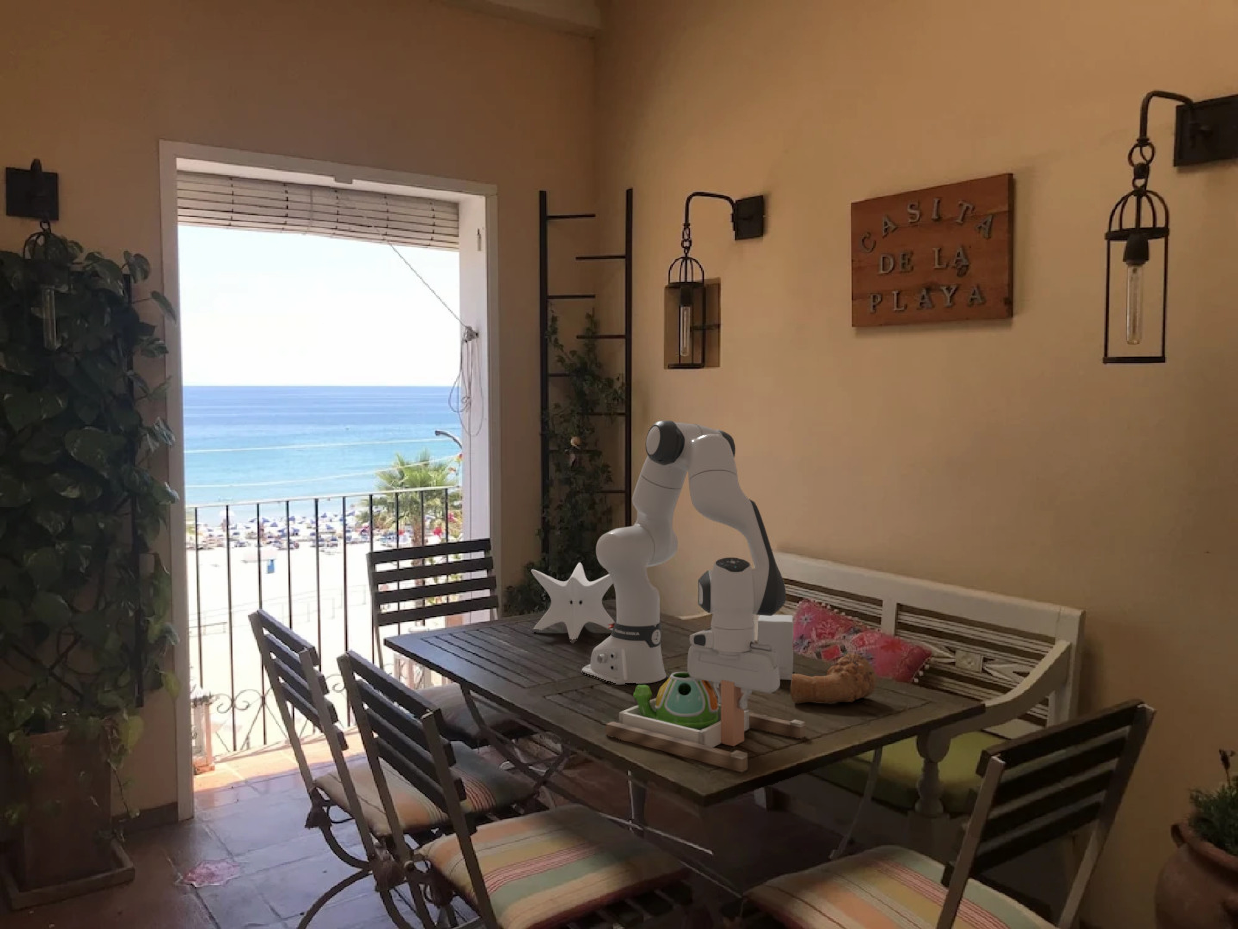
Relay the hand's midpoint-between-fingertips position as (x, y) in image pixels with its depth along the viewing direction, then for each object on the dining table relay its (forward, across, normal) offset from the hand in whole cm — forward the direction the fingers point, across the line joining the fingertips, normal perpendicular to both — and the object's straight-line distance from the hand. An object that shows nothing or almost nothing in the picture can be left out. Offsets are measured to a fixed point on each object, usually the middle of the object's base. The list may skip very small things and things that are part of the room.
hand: (732, 706), depth 190 cm
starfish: (+8, +90, -54) cm, 105 cm away
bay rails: (+8, +7, 0) cm, 10 cm away
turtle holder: (+8, +13, 0) cm, 15 cm away
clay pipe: (+8, -4, -39) cm, 40 cm away
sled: (+7, +11, 0) cm, 13 cm away
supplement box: (+8, +18, -50) cm, 54 cm away
